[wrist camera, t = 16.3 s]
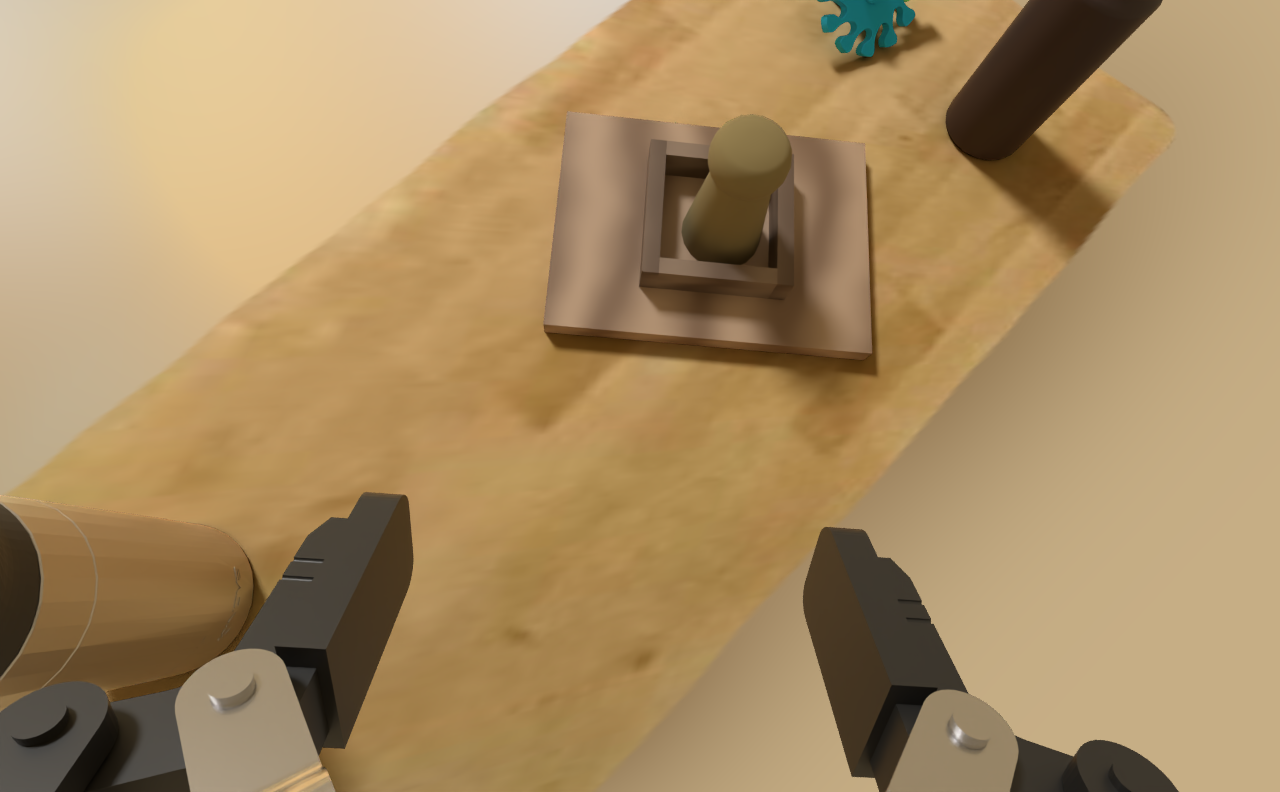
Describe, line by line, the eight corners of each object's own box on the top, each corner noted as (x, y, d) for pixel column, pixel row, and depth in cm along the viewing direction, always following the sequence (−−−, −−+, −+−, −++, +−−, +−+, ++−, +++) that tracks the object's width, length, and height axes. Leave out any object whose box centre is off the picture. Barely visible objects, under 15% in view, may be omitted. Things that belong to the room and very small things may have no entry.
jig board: (544, 332, 49) (541, 310, 45) (567, 124, 53) (566, 88, 50) (863, 360, 50) (886, 341, 46) (857, 154, 55) (878, 122, 51)
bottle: (961, 169, 55) (1161, -50, 36) (931, 102, 57) (1107, -142, 38) (1032, 154, 56) (1263, -67, 37) (1001, 89, 58) (1206, -156, 39)
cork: (665, 224, 50) (686, 128, 39) (726, 184, 51) (762, 81, 41) (715, 284, 49) (750, 202, 38) (776, 241, 50) (826, 151, 40)
